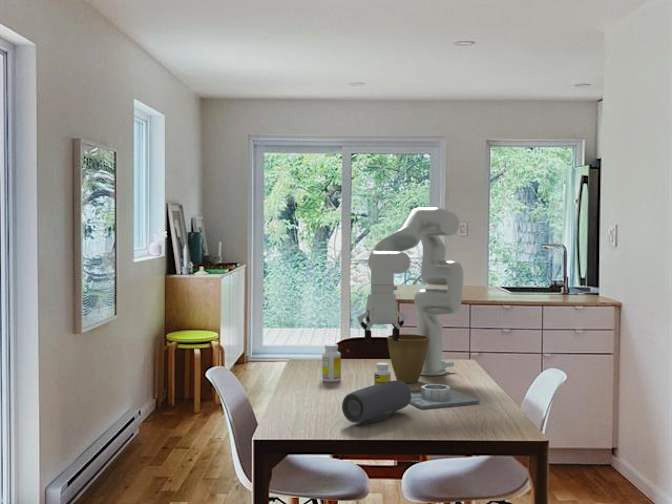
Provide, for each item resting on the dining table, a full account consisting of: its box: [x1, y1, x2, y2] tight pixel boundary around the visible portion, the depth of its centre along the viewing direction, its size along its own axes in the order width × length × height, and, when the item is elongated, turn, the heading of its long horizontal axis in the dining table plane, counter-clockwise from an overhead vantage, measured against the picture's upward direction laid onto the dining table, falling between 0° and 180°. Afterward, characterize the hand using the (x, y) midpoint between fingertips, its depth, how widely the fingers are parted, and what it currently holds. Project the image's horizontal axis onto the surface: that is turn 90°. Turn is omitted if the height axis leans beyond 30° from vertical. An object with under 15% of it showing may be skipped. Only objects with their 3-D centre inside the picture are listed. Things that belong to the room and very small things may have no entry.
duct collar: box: [409, 383, 480, 410], centre depth 250 cm, size 20×20×4 cm
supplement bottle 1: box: [321, 343, 342, 383], centre depth 280 cm, size 7×7×13 cm
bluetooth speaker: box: [341, 380, 411, 424], centre depth 226 cm, size 23×9×10 cm, turn 141°
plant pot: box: [386, 333, 429, 384], centre depth 278 cm, size 15×15×16 cm
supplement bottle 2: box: [373, 362, 392, 385], centre depth 260 cm, size 5×5×10 cm
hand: (381, 341), depth 259 cm, fingers open, 9 cm apart
